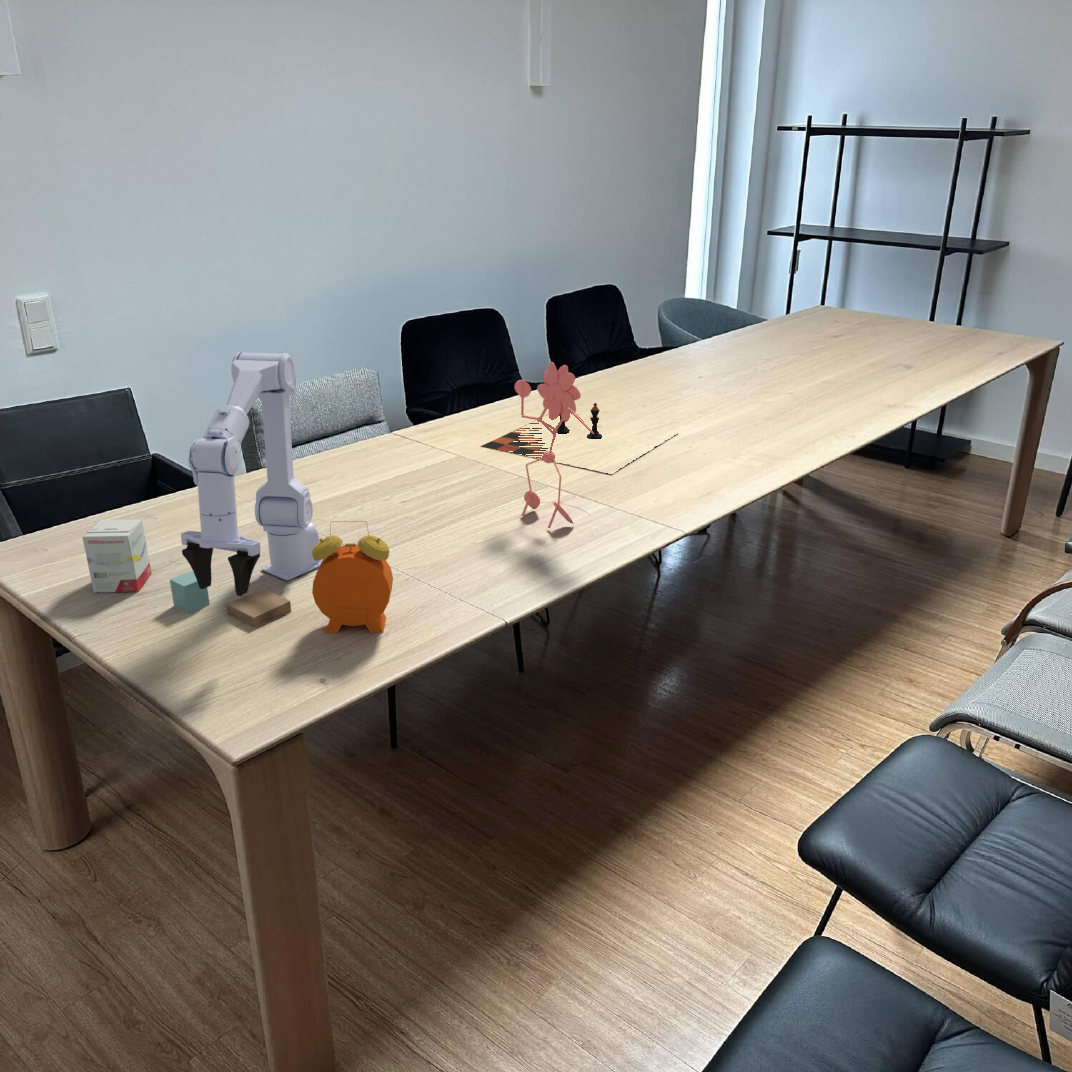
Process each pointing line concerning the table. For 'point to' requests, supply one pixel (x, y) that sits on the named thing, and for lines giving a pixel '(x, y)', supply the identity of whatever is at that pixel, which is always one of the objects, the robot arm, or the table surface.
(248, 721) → the table surface
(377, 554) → the alarm clock
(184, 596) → the teal block
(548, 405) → the figurine
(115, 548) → the ink box
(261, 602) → the walnut slab
